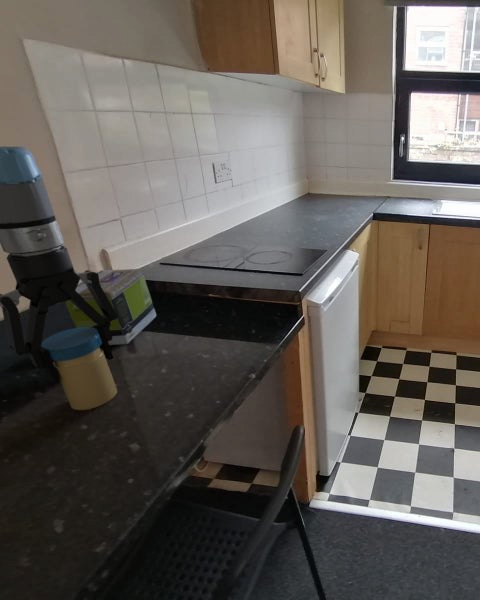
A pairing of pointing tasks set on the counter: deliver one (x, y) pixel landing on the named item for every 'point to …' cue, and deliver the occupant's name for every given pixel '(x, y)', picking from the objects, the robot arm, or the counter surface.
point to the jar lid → (72, 343)
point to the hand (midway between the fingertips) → (82, 368)
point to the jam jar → (86, 380)
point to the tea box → (119, 304)
